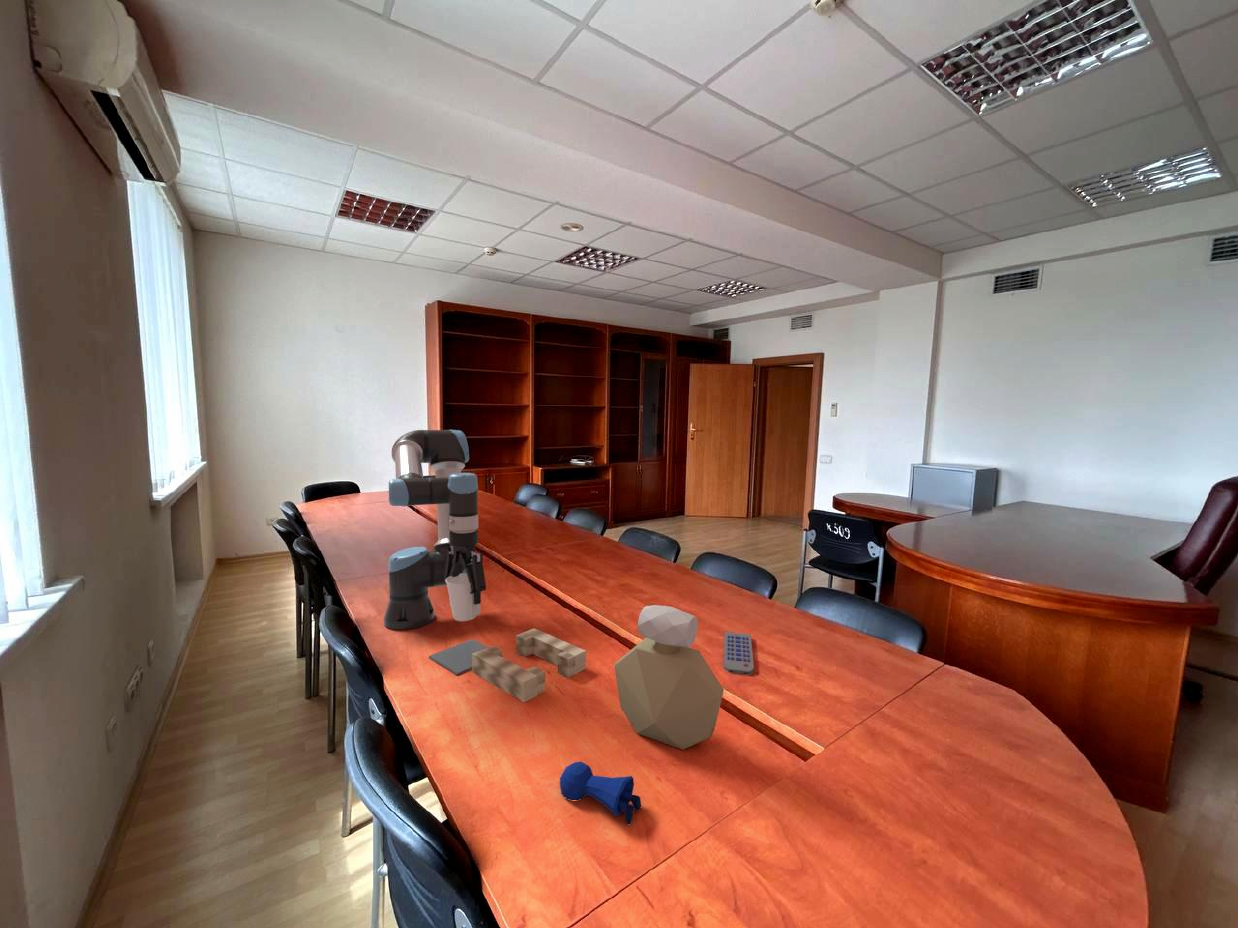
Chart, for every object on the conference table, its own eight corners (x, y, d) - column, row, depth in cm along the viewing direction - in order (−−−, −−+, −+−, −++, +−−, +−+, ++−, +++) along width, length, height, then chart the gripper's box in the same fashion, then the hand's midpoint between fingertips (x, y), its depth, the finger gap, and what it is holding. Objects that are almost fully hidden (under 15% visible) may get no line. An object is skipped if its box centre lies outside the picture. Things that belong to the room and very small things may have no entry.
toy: (643, 806, 85) (572, 772, 93) (645, 773, 85) (574, 741, 92) (625, 835, 79) (551, 796, 87) (627, 800, 79) (552, 763, 86)
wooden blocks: (472, 672, 128) (472, 653, 127) (533, 644, 144) (533, 628, 144) (524, 702, 115) (524, 682, 114) (585, 668, 131) (585, 650, 130)
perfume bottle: (710, 771, 93) (715, 630, 91) (602, 730, 105) (604, 604, 102) (728, 735, 104) (733, 608, 101) (628, 702, 115) (631, 587, 113)
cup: (472, 626, 129) (472, 585, 128) (438, 622, 131) (437, 582, 130) (489, 612, 139) (489, 574, 138) (457, 608, 141) (457, 571, 140)
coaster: (428, 657, 135) (428, 655, 135) (472, 640, 146) (472, 638, 146) (457, 675, 126) (457, 673, 126) (501, 655, 137) (501, 653, 137)
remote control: (750, 640, 150) (751, 633, 150) (753, 677, 128) (754, 669, 128) (724, 637, 152) (724, 630, 152) (723, 673, 130) (723, 665, 130)
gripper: (429, 526, 137) (431, 604, 139) (475, 539, 123) (476, 625, 125) (453, 522, 142) (454, 597, 144) (499, 534, 129) (500, 616, 131)
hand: (464, 610), depth 135 cm, fingers closed on cup, 9 cm apart
